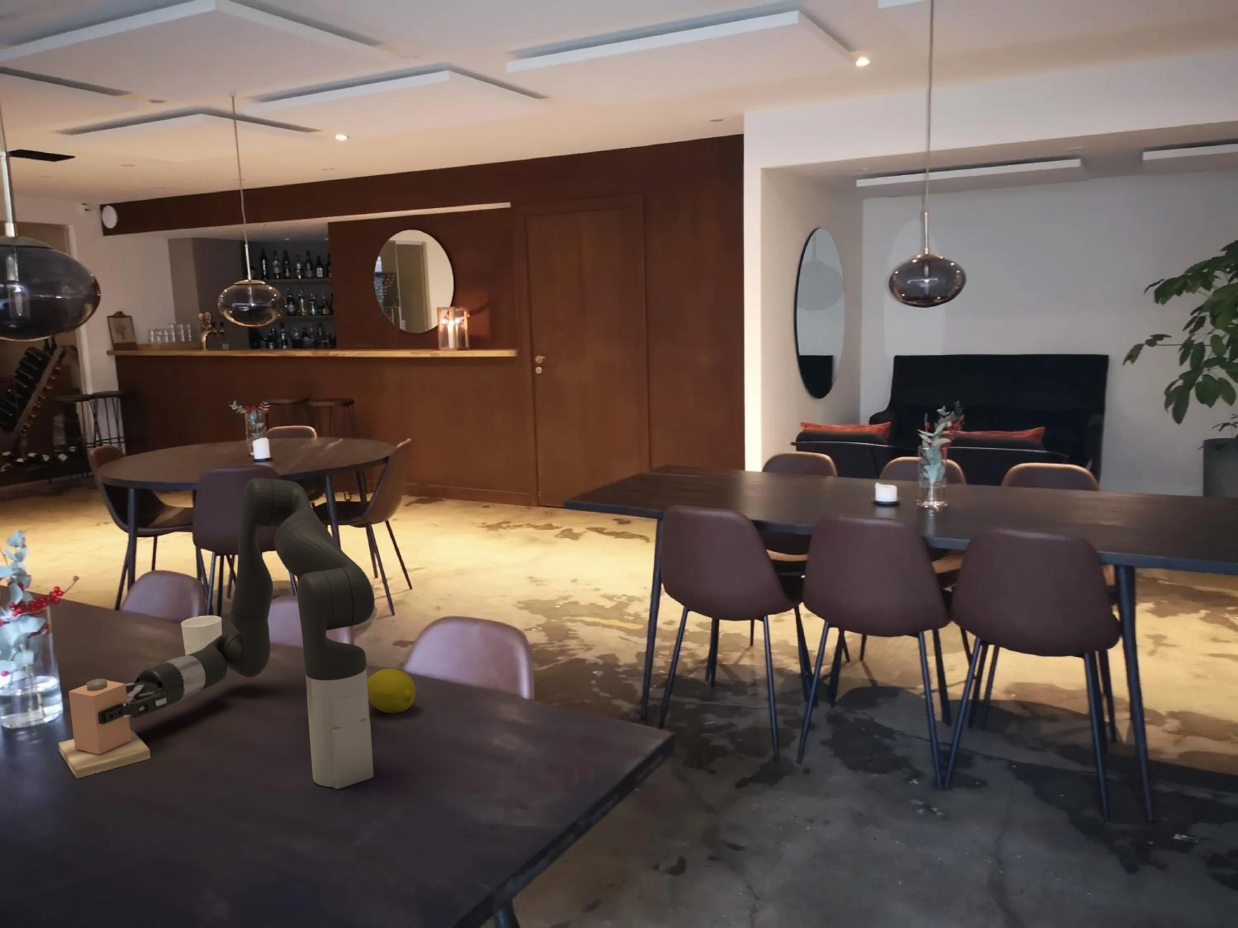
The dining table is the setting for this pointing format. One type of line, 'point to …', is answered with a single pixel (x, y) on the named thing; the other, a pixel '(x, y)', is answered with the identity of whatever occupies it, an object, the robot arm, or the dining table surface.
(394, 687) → the lemon
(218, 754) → the dining table surface
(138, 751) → the shaft board
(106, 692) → the square capped bottle
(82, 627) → the dining table surface
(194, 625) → the white cup
